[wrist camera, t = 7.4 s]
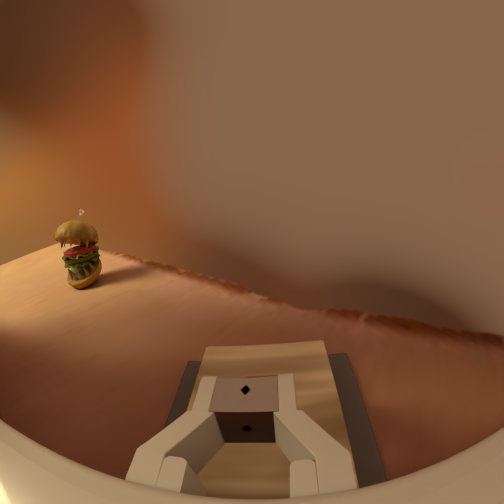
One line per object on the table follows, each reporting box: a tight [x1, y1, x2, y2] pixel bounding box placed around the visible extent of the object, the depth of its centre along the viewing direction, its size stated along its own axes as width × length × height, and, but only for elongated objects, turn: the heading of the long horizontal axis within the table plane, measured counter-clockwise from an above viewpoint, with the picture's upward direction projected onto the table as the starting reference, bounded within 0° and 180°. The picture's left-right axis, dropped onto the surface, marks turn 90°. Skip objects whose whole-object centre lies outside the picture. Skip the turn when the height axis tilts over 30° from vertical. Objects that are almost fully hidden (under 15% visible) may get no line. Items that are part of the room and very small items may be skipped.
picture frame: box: [186, 340, 359, 499], centre depth 12 cm, size 2×8×12 cm
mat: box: [164, 353, 387, 488], centre depth 11 cm, size 16×12×1 cm
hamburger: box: [55, 209, 102, 289], centre depth 36 cm, size 8×7×12 cm
